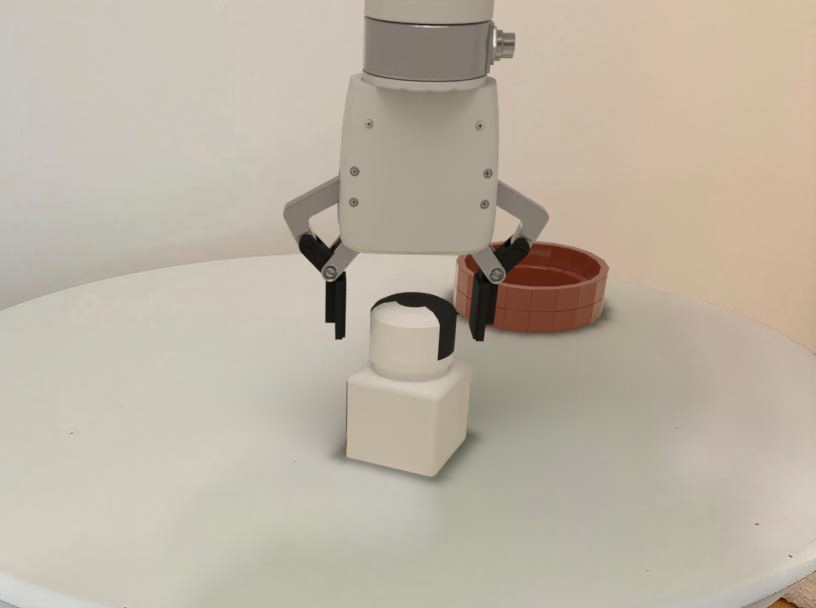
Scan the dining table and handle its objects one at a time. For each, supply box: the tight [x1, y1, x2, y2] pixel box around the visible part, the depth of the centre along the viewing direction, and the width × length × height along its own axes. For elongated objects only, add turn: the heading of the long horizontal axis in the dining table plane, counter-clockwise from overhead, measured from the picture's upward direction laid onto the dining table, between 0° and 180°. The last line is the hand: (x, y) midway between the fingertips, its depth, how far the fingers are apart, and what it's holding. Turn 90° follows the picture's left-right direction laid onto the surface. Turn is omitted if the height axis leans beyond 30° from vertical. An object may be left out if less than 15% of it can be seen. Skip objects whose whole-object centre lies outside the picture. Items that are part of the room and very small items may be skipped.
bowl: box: [452, 240, 610, 334], centre depth 98 cm, size 15×15×5 cm
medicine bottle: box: [345, 291, 473, 477], centre depth 72 cm, size 7×7×12 cm
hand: (407, 333), depth 69 cm, fingers open, 9 cm apart
